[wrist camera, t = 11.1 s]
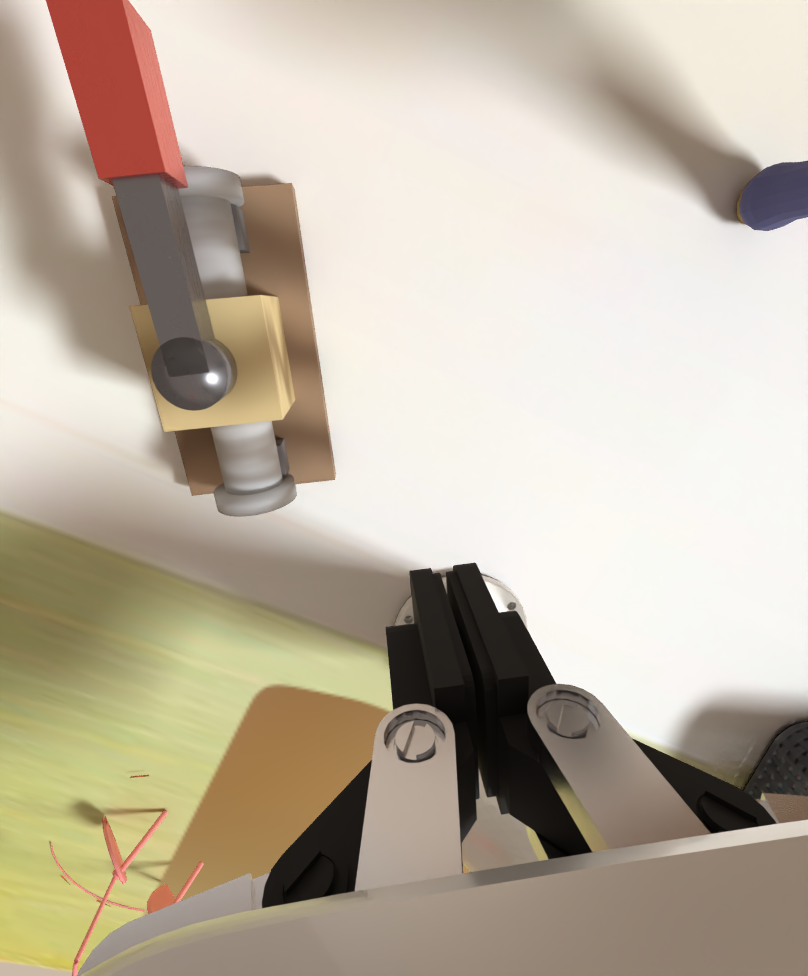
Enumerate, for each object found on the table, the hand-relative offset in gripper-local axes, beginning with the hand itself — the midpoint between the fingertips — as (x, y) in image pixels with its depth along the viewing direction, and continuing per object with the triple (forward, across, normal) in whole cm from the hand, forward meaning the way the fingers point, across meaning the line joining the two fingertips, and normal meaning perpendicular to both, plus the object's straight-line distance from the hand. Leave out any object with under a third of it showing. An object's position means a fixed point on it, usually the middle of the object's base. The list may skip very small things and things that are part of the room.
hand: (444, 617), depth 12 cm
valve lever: (+18, +10, -11) cm, 23 cm away
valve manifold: (+27, +10, -5) cm, 29 cm away
